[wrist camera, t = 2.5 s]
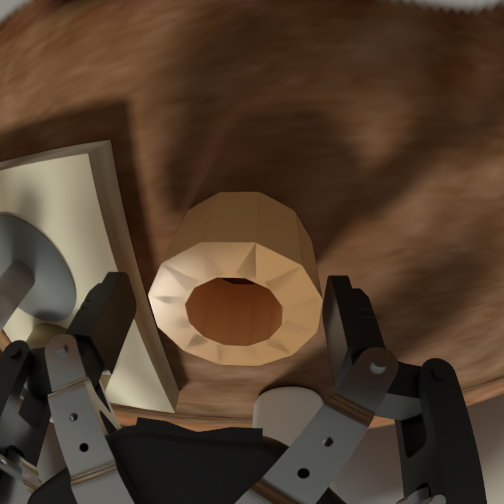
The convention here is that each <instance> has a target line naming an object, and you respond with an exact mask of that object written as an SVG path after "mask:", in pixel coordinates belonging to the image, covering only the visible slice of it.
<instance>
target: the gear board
mask: <svg viewBox="0 0 504 504" xmlns="http://www.w3.org/2000/svg"><path fill="white" fill-rule="evenodd" d="M108 272H126V273H127V274H128V276H129V279H130V282H131V286H132V289H133V292H134V295H135V298H136V303H137V309H136V314H135V317H134V319H133V322H132V324H131V327H130V329H129V332H128V334H127V337H126V339H125V342H124V344H123V347H122V350H121V352H120V355H119V358H118V360H117V363H116V366H115V368H114V371H113V374H112V375H106V374H102V375H101V378H100V381H101V383H102V385H103V388H104V391H105V393H106V396H107V398H108V401H109V402H113V403H118V404H123V405H128V406H133V407H139V408H145V409H151V410H157V411H164V412H171V413H175V410H176V406H177V401H178V397H179V389H178V386H177V384H176V381H175V379H174V376H173V373H172V371H171V368H170V365H169V363H168V360H167V357H166V354H165V352H164V349H163V346H162V343H161V340H160V337H159V334H158V331H157V328H156V325H155V322H154V319H153V316H152V313H151V310H150V307H149V303H148V300H147V297H146V293H145V290H144V287H143V283H142V280H141V276H140V273H139V269H138V265H137V262H136V258H135V254H134V250H133V246H132V242H131V238H130V234H129V230H128V226H127V222H126V217H125V213H124V208H123V204H122V199H121V194H120V189H119V184H118V179H117V174H116V168H115V163H114V157H113V151H112V145H111V140H105V141H99V142H92V143H86V144H80V145H75V146H69V147H64V148H59V149H54V150H49V151H45V152H40V153H36V154H31V155H27V156H23V157H19V158H15V159H11V160H7V161H3V162H0V332H1V330H2V329H4V331H5V333H6V334H7V336H8V337H9V339H10V340H11V342H13V341H16V340H24V341H25V342H27V344H28V345H29V347H30V348H31V349H35V348H42V347H46V346H47V344H48V342H49V341H50V340H51V339H52V338H54V337H56V336H58V335H61V334H65V333H66V331H67V329H68V328H69V326H70V324H71V322H72V320H73V318H74V317H75V315H76V313H77V311H78V310H79V309H80V306H81V304H82V303H83V301H84V299H85V297H86V296H87V294H88V292H89V291H90V290H91V289H92V288H93V287H94V286H95V285H97V284H98V283H102V281H103V280H104V278H105V276H106V275H107V273H108ZM26 392H27V390H26V389H25V388H24V387H23V389H22V392H21V394H20V398H21V399H24V397H25V394H26ZM50 422H53V418H52V415H51V418H50ZM53 423H54V422H53Z"/></svg>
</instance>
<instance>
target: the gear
mask: <svg viewBox="0 0 504 504" xmlns="http://www.w3.org/2000/svg"><path fill="white" fill-rule="evenodd" d="M219 277H220V278H219ZM222 278H246V279H248V280H251V281H253V282H255V284H253V285H251V284H233V283H230V282H228V281H226V280H224V279H222ZM148 297H149V300H150V304H151V307H152V310H153V313H154V317H155V320H156V323H157V326H158V327H159V328H160V329H161V330H162V331H163V332H164V333H165V334H166V335H167V336H168V337H169V338H171V339H172V340H173V341H174V342H175V343H176V344H177V345H178V346H179V347H180V348H181V349H183V350H184V351H186V352H189V353H191V354H194V355H196V356H199V357H201V358H204V359H206V360H209V361H212V362H214V363H217V364H223V365H246V366H259V365H262V364H265V363H269V362H272V361H275V360H278V359H281V358H284V357H287V356H290V355H293V354H294V353H295V352H296V351H297V350H298V349H299V348H300V347H302V346H303V345H304V344H305V343H306V342H307V341H308V340H309V339H310V338H311V337H312V336H313V335H314V334H315V333H316V332H317V329H318V324H319V318H320V313H321V307H322V301H323V299H322V293H321V287H320V282H319V276H318V271H317V266H316V260H315V255H314V250H313V245H312V240H311V238H310V237H309V235H308V233H307V231H306V230H305V228H304V226H303V224H302V223H301V221H300V219H299V218H298V216H297V214H296V212H295V211H294V210H293V209H291V208H289V207H287V206H285V205H283V204H282V203H280V202H278V201H276V200H274V199H272V198H270V197H269V196H267V195H265V194H263V193H261V192H218V193H217V194H215V195H213V196H211V197H210V198H208V199H206V200H204V201H203V202H201V203H199V204H198V205H196V206H194V207H192V208H191V209H189V210H188V211H187V212H186V214H185V216H184V218H183V220H182V222H181V224H180V226H179V228H178V230H177V232H176V234H175V236H174V238H173V241H172V243H171V245H170V247H169V249H168V251H167V253H166V255H165V257H164V259H163V261H162V263H161V266H160V268H159V270H158V273H157V275H156V277H155V280H154V282H153V284H152V287H151V289H150V291H149V294H148Z"/></svg>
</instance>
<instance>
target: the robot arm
mask: <svg viewBox="0 0 504 504" xmlns="http://www.w3.org/2000/svg"><path fill="white" fill-rule="evenodd" d="M136 309H137V303H136V298H135V295H134V292H133V289H132V286H131V282H130V279H129V276H128V274H127V273H126V272H108V273H107V275H106V276H105V278H104V280H103V281H102V283H98V284H97V285H95V286H94V287H93V288H92V289H91V290H90V291H89V292H88V294H87V296H86V297H85V299H84V301H83V303H82V304H81V306H80V309H79V310H78V311H77V313H76V315H75V317H74V318H73V320H72V322H71V324H70V326H69V328H68V329H67V331H66V333H65V334H61V335H58V336H56V337H54V338H52V339H51V340H50V341H49V342H48V344H47V346H46V347H42V348H35V349H31V348H30V347H29V345H28V344H27V342H25V341H24V340H16V341H13V342H12V343H10V344H9V345H8V346H7V347H6V348H5V350H4V352H3V354H2V356H1V357H0V504H346V503H345V502H344V501H343V500H342V499H341V498H340V497H339V496H338V495H337V494H336V493H335V492H334V491H333V490H332V489H331V488H330V487H329V485H330V484H331V483H332V481H333V480H334V479H335V477H336V476H337V474H338V473H339V472H340V470H341V469H342V467H343V466H344V464H345V463H346V461H347V460H348V458H349V457H350V455H351V454H352V452H353V451H354V449H355V448H356V446H357V445H358V443H359V441H360V440H361V438H362V437H363V435H364V433H365V432H366V430H367V428H368V427H369V425H370V423H371V422H372V420H373V417H374V416H379V417H384V418H390V419H394V420H395V426H396V433H397V439H398V447H399V454H400V462H401V471H402V480H403V492H404V498H402V499H401V500H399V501H398V502H396V504H487V500H486V493H485V487H484V481H483V475H482V470H481V465H480V460H479V455H478V451H477V446H476V442H475V438H474V434H473V430H472V426H471V422H470V418H469V415H468V411H467V408H466V404H465V401H464V398H463V394H462V391H461V388H460V385H459V382H458V379H457V376H456V373H455V370H454V369H453V367H452V366H451V365H450V364H449V363H448V362H446V361H445V360H442V359H439V358H432V359H429V360H427V361H426V362H425V363H424V364H423V365H422V367H421V366H416V365H410V364H405V363H402V362H399V361H398V360H397V358H396V357H395V355H394V354H393V353H392V352H390V351H389V350H387V349H386V348H385V345H384V342H383V339H382V335H381V332H380V329H379V326H378V323H377V320H376V318H375V314H374V311H373V309H372V306H371V303H370V300H369V297H368V296H367V295H366V294H365V293H364V292H363V291H362V290H361V289H360V288H355V289H352V286H351V283H350V280H349V277H348V276H347V275H346V276H328V279H327V284H326V290H325V296H324V301H323V309H322V316H323V323H324V329H325V335H326V341H327V347H328V353H329V359H330V365H331V372H332V378H333V385H334V388H336V387H339V388H338V389H337V390H336V392H335V393H334V395H333V396H332V397H331V396H330V397H329V398H328V399H327V400H326V401H325V402H324V404H323V405H322V406H321V408H320V409H319V410H318V412H317V413H316V414H315V416H314V417H313V418H312V420H311V421H310V422H309V423H308V425H307V426H306V427H305V429H304V430H303V431H302V432H301V434H300V435H299V436H298V437H297V438H296V440H295V441H294V442H293V443H292V444H291V446H290V447H289V446H287V445H286V444H284V443H282V442H280V441H278V440H276V439H273V438H270V437H267V436H263V428H238V427H229V428H223V429H216V430H210V431H203V432H195V431H192V430H189V429H186V428H183V427H180V426H178V425H175V424H172V423H170V422H167V421H160V420H153V419H147V418H141V417H138V419H137V423H136V425H131V426H127V427H123V428H122V427H121V426H120V424H119V422H118V421H117V419H116V417H115V415H114V412H113V410H112V408H111V405H110V403H109V401H108V398H107V396H106V393H105V391H104V388H103V385H102V383H101V381H100V378H101V375H102V374H106V375H112V374H113V371H114V368H115V366H116V363H117V360H118V358H119V355H120V352H121V350H122V347H123V344H124V342H125V339H126V337H127V334H128V332H129V329H130V327H131V324H132V322H133V319H134V317H135V314H136ZM23 387H24V388H25V389H26V390H27V392H26V394H25V397H24V399H23V402H22V405H21V407H20V410H19V413H18V412H17V408H16V407H17V402H18V399H19V397H20V394H21V392H22V389H23ZM51 415H52V418H53V422H54V425H55V429H56V433H57V436H58V439H59V443H60V446H61V449H62V452H63V455H64V458H65V461H66V464H67V467H66V468H64V469H63V470H61V471H60V472H59V473H57V474H56V475H55V476H53V477H52V478H51V479H49V480H48V481H46V482H45V483H44V484H42V481H41V480H40V479H39V474H38V471H37V469H36V467H37V463H38V459H39V456H40V452H41V448H42V445H43V441H44V438H45V435H46V431H47V428H48V425H49V422H50V418H51Z"/></svg>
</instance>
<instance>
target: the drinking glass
mask: <svg viewBox="0 0 504 504" xmlns="http://www.w3.org/2000/svg"><path fill="white" fill-rule="evenodd" d="M322 405H323V401H322V398H321V397H320V396H319V395H318V394H317V393H316V392H314V391H312V390H310V389H307V388H303V387H294V386H289V387H279V388H275V389H271V390H268V391H266V392H264V393H263V394H261V395H260V396H259V397H258V398H257V399H256V401H255V403H254V407H253V422H252V428H263V436H267V437H270V438H273V439H276V440H278V441H280V442H282V443H284V444H286V445H287V446H289V447H290V446H291V444H292V443H293V442H294V441H295V440H296V438H297V437H298V436H299V435H300V434H301V432H302V431H303V430H304V429H305V427H306V426H307V425H308V423H309V422H310V421H311V420H312V418H313V417H314V416H315V414H316V413H317V412H318V410H319V409H320V408H321V406H322ZM329 487H330V488H331V489H332V490H333V491H334V492H335V493H336V494H337V491H336V485H335V479H334V480H333V481H332V483H331V484H330V485H329Z"/></svg>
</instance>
